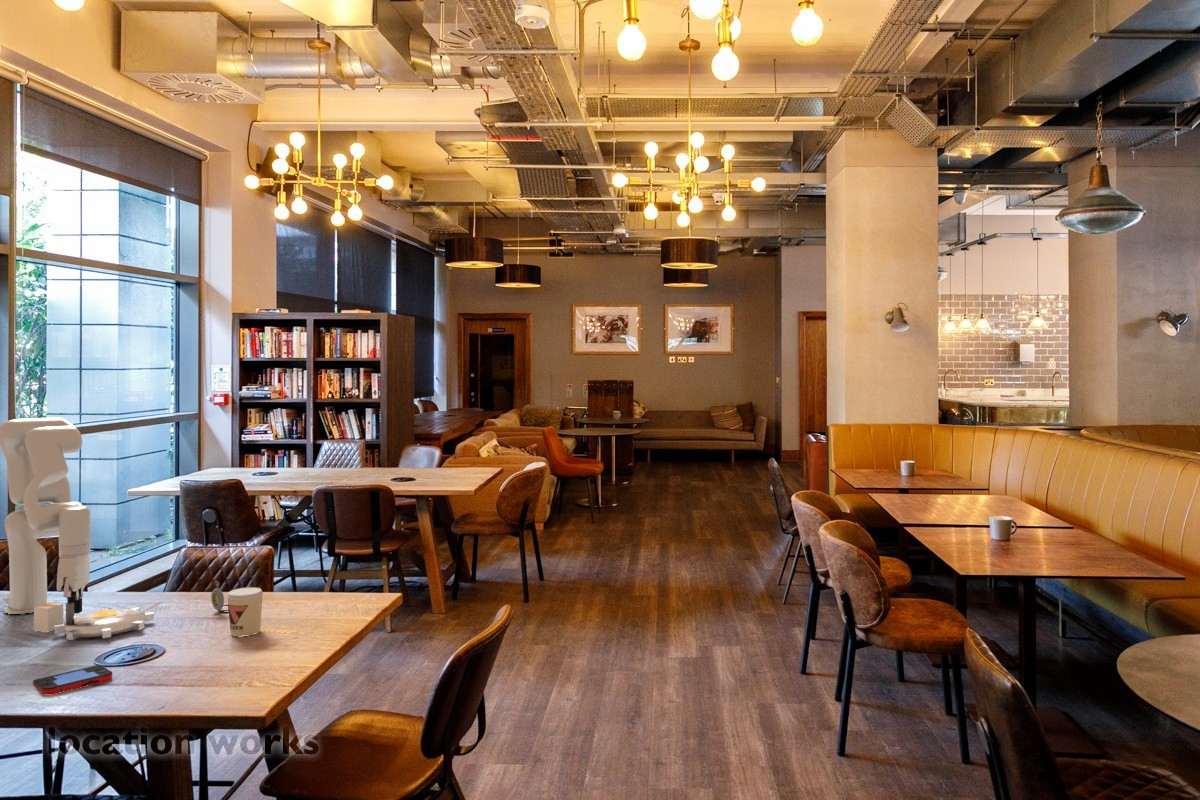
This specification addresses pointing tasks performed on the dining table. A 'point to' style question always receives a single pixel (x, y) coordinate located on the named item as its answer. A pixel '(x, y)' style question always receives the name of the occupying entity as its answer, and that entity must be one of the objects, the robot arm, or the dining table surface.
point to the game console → (73, 679)
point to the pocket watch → (218, 598)
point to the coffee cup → (245, 610)
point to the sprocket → (102, 622)
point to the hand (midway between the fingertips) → (74, 612)
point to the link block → (48, 616)
